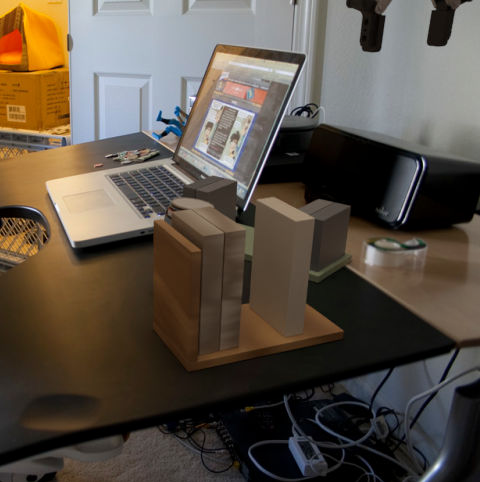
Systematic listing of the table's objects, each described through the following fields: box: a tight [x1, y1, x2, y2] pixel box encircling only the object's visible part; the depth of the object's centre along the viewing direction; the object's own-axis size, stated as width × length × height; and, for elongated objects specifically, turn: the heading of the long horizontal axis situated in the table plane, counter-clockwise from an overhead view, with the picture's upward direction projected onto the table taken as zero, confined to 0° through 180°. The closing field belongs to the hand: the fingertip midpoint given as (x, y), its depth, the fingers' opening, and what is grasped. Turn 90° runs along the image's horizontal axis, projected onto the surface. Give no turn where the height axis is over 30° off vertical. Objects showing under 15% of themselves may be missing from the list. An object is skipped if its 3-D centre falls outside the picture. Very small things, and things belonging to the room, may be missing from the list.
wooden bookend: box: [152, 206, 345, 373], centre depth 67 cm, size 18×9×14 cm, turn 107°
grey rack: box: [182, 175, 353, 284], centre depth 89 cm, size 23×9×8 cm, turn 43°
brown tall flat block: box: [248, 196, 315, 337], centre depth 67 cm, size 2×7×13 cm, turn 17°
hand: (403, 48), depth 69 cm, fingers open, 8 cm apart
